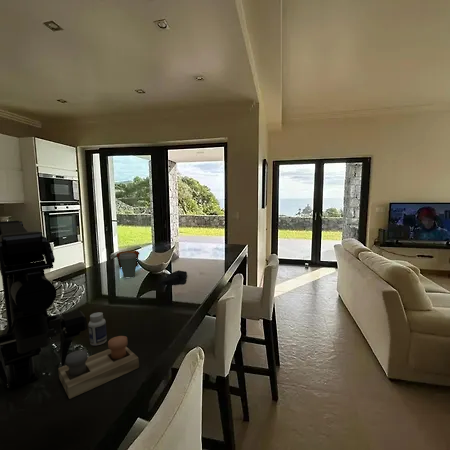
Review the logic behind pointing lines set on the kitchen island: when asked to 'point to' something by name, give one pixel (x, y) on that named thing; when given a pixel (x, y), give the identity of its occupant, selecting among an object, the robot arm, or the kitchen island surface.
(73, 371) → the plug
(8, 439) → the kitchen island surface
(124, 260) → the disposable coffee cup
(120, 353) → the terracotta plug
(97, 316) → the pill bottle
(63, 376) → the plug board
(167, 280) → the dark slate chunk
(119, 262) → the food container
